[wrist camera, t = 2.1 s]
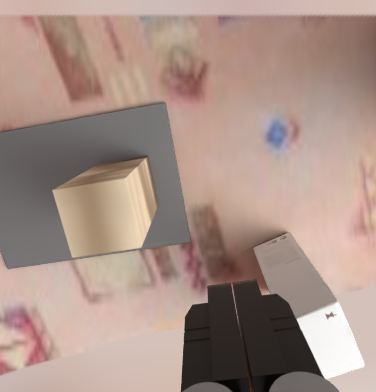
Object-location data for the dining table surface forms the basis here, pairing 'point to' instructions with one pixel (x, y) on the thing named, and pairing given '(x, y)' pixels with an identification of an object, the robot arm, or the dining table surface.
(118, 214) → the birch block
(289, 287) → the skincare box
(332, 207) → the dining table surface
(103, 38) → the dining table surface
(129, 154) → the mat
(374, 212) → the dining table surface
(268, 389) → the robot arm
